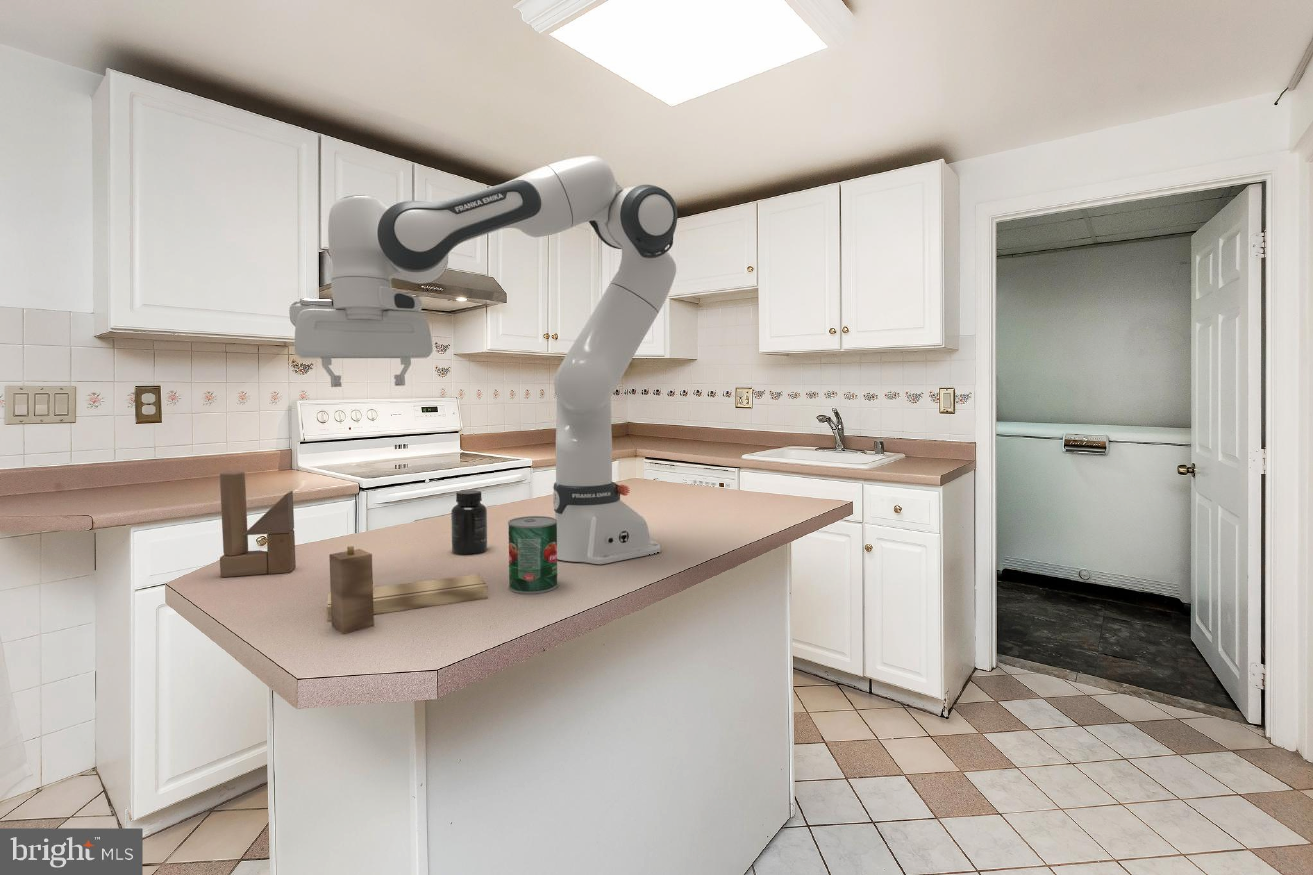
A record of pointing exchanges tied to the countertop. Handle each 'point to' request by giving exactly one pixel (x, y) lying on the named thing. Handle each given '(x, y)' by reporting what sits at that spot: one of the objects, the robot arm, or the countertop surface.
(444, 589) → the board
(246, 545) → the wooden block structure
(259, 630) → the countertop surface
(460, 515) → the supplement bottle
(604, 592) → the countertop surface
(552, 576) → the canned tomato
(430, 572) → the countertop surface
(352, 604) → the block
